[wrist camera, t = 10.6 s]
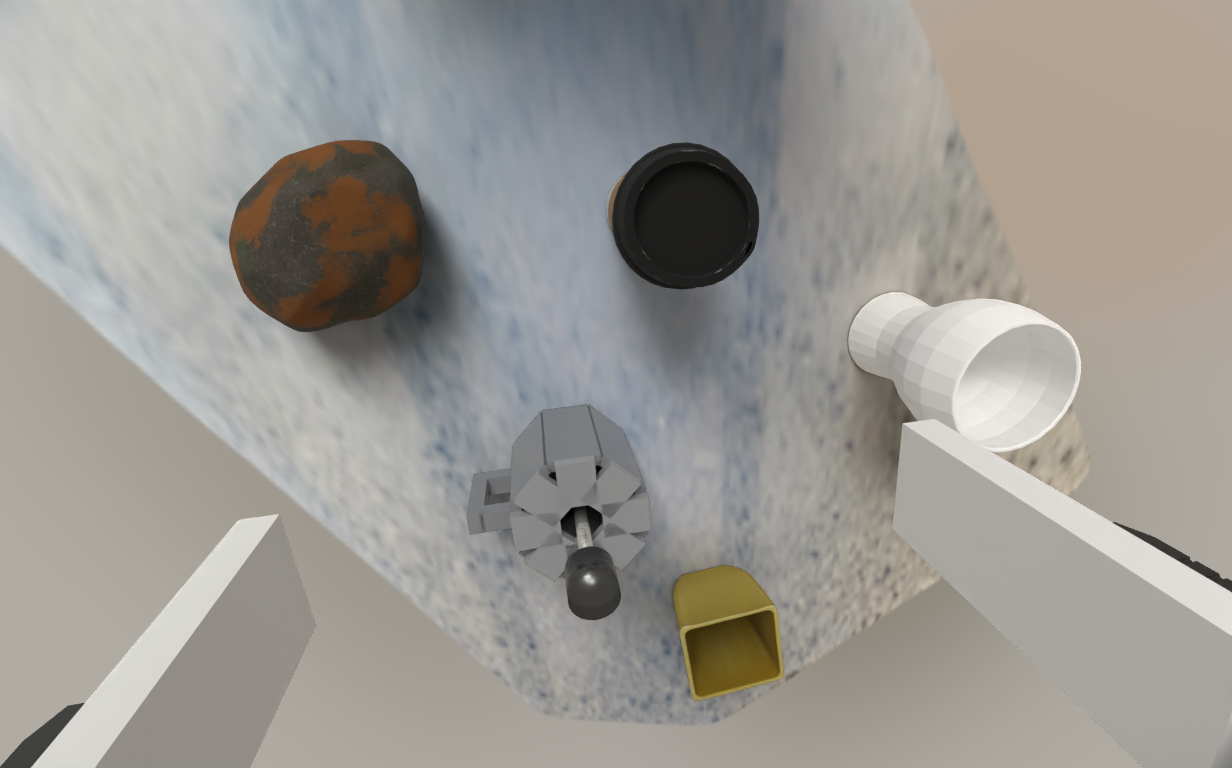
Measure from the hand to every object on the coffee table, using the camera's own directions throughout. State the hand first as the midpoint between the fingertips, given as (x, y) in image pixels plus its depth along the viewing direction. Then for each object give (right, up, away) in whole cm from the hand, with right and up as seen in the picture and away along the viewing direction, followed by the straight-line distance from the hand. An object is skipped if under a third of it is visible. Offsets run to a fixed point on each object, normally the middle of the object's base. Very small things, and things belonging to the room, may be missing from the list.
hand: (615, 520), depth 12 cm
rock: (-20, +14, +32) cm, 40 cm away
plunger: (-4, -4, +38) cm, 38 cm away
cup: (+25, +8, +41) cm, 48 cm away
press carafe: (-6, -4, +40) cm, 40 cm away
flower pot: (+9, -18, +48) cm, 52 cm away
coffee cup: (+2, +17, +34) cm, 38 cm away
